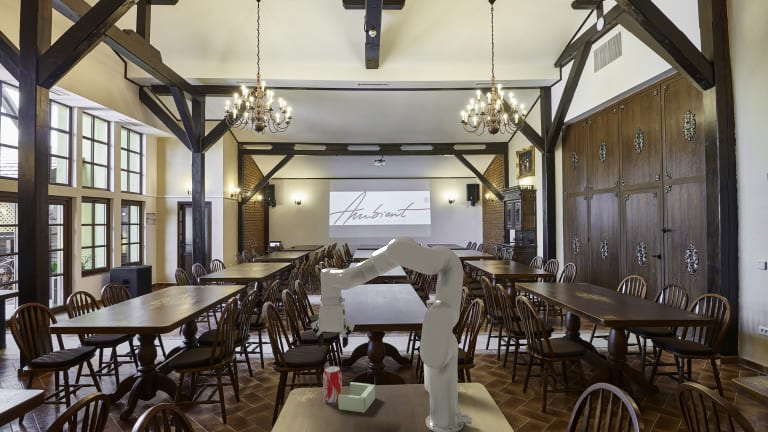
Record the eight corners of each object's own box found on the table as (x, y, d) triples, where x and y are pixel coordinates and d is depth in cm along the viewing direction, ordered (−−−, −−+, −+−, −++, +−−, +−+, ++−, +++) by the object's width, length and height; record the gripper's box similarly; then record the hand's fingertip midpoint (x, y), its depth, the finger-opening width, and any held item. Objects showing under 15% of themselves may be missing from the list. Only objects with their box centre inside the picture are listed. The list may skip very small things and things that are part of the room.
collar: (375, 397, 157) (375, 384, 157) (364, 412, 145) (364, 398, 145) (351, 395, 160) (351, 382, 160) (338, 409, 148) (338, 395, 148)
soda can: (339, 405, 151) (338, 372, 151) (321, 404, 153) (320, 371, 153) (344, 396, 158) (343, 365, 158) (327, 395, 160) (326, 364, 160)
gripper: (356, 299, 157) (357, 344, 157) (314, 298, 161) (316, 342, 161) (349, 303, 149) (351, 350, 149) (306, 302, 154) (307, 348, 154)
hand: (333, 346), depth 155 cm, fingers open, 9 cm apart
